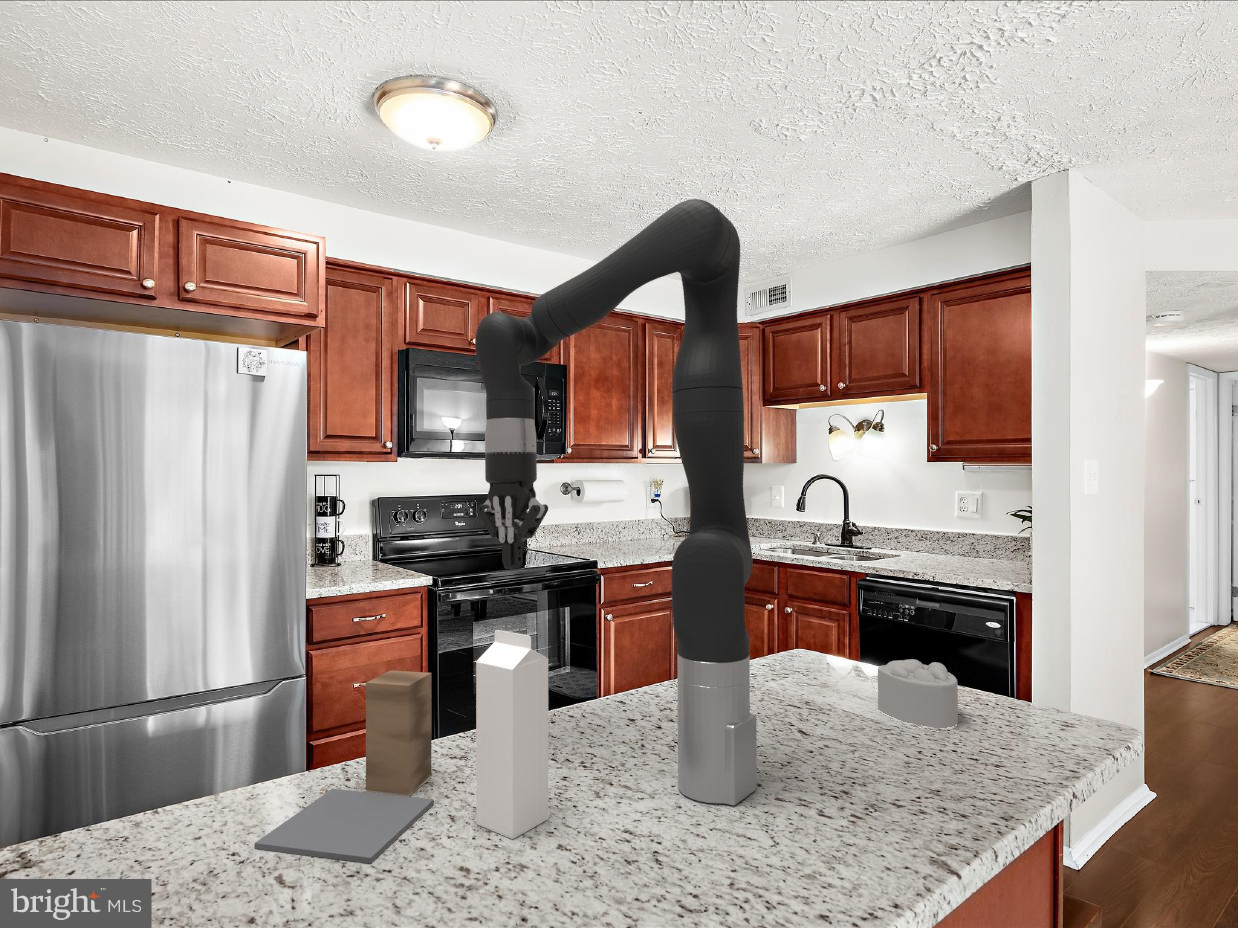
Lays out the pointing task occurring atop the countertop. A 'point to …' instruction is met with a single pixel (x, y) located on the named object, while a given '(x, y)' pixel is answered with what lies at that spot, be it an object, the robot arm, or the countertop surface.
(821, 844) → the countertop surface
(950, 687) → the lumpy-topped squat cylinder
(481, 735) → the milk
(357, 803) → the mat
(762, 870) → the countertop surface
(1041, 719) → the countertop surface
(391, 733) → the light wood block
